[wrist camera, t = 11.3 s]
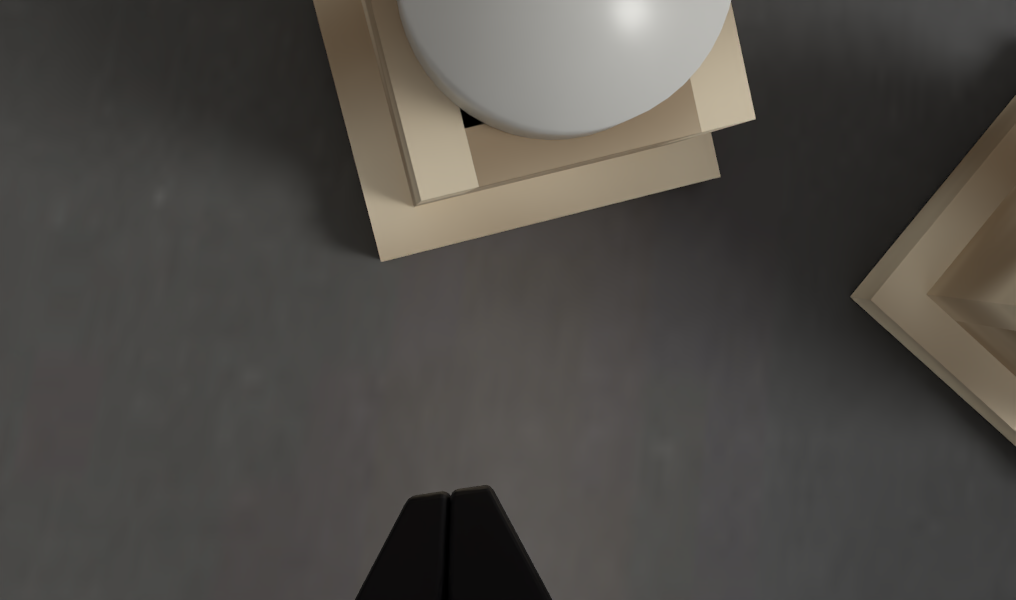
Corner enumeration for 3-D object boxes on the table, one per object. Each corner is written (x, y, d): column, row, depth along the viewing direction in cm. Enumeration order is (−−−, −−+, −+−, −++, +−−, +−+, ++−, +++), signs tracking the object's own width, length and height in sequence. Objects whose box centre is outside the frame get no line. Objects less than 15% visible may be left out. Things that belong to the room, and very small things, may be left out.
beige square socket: (706, 179, 22) (820, 161, 16) (381, 260, 21) (378, 273, 16) (631, -160, 21) (723, -307, 16) (290, -88, 21) (250, -216, 15)
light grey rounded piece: (653, 129, 21) (767, 87, 14) (427, 184, 20) (444, 165, 14) (600, -107, 20) (695, -256, 14) (366, -57, 20) (355, -188, 13)
